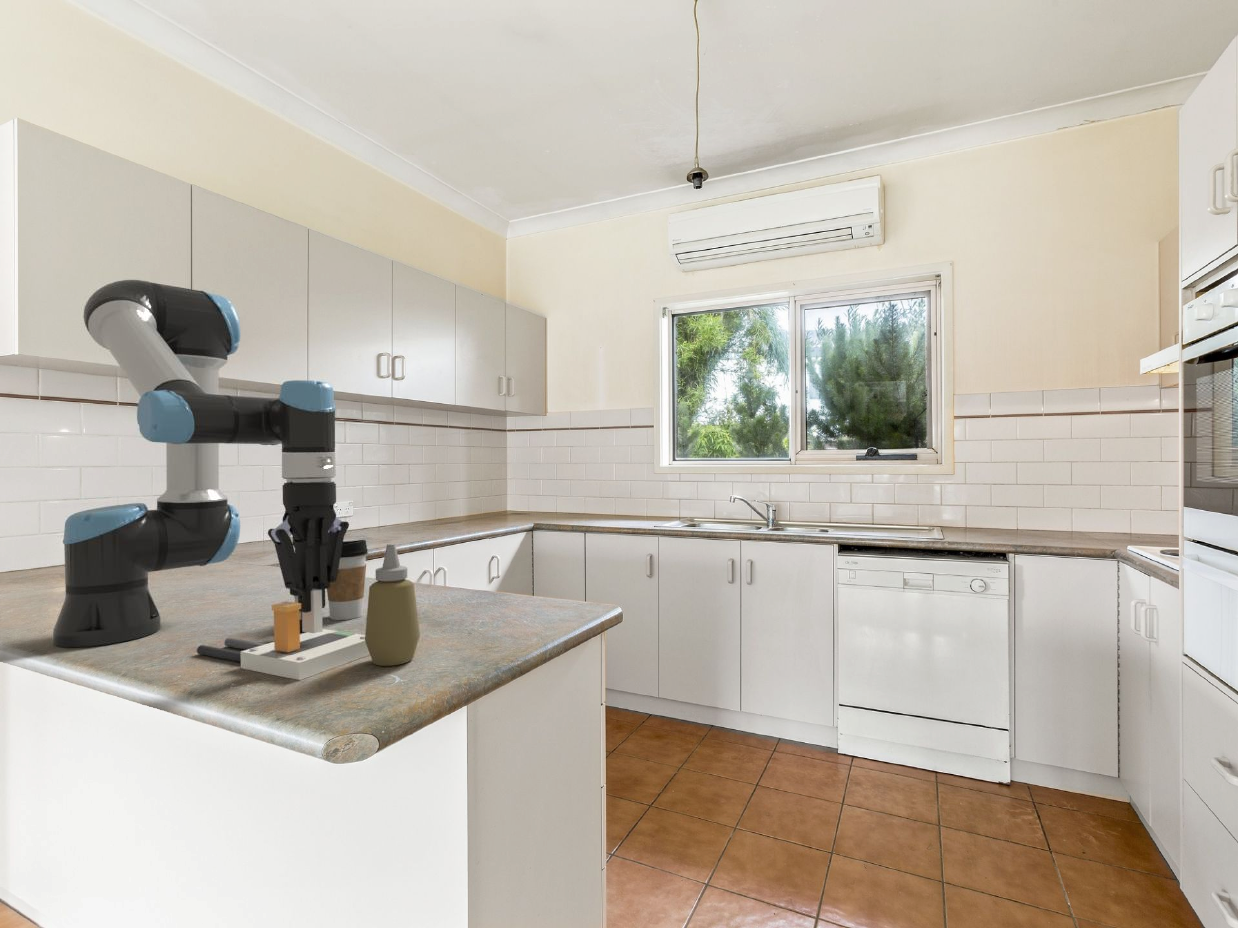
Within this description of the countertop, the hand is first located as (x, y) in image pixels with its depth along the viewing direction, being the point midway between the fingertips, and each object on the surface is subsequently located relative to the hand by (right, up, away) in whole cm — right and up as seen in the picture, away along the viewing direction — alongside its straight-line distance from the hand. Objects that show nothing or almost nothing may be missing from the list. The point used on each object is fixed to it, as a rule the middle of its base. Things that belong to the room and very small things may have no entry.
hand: (312, 631), depth 100 cm
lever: (-2, -2, -4) cm, 5 cm away
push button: (-8, -5, +14) cm, 17 cm away
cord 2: (-12, -5, +5) cm, 14 cm away
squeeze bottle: (+13, -5, -1) cm, 14 cm away
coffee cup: (-6, -4, +27) cm, 28 cm away
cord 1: (-14, -5, +1) cm, 15 cm away
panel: (0, -4, 0) cm, 4 cm away
